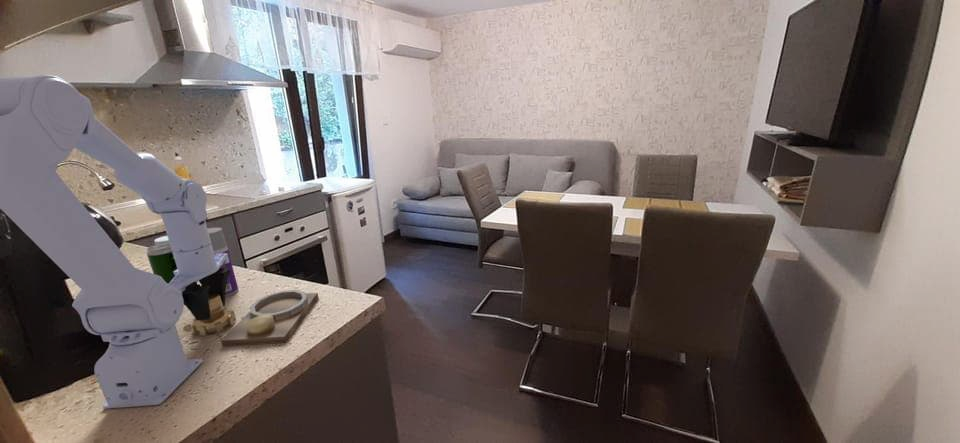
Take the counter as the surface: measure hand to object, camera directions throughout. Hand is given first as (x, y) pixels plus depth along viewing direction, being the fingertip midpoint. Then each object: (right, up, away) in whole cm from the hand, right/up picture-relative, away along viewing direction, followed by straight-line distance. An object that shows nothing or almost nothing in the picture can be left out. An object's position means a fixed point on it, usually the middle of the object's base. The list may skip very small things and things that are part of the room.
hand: (211, 312), depth 71 cm
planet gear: (0, -3, +1) cm, 3 cm away
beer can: (-18, 0, +14) cm, 22 cm away
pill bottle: (-22, +2, +20) cm, 30 cm away
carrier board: (+11, -2, +2) cm, 11 cm away
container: (-7, +1, +14) cm, 16 cm away
